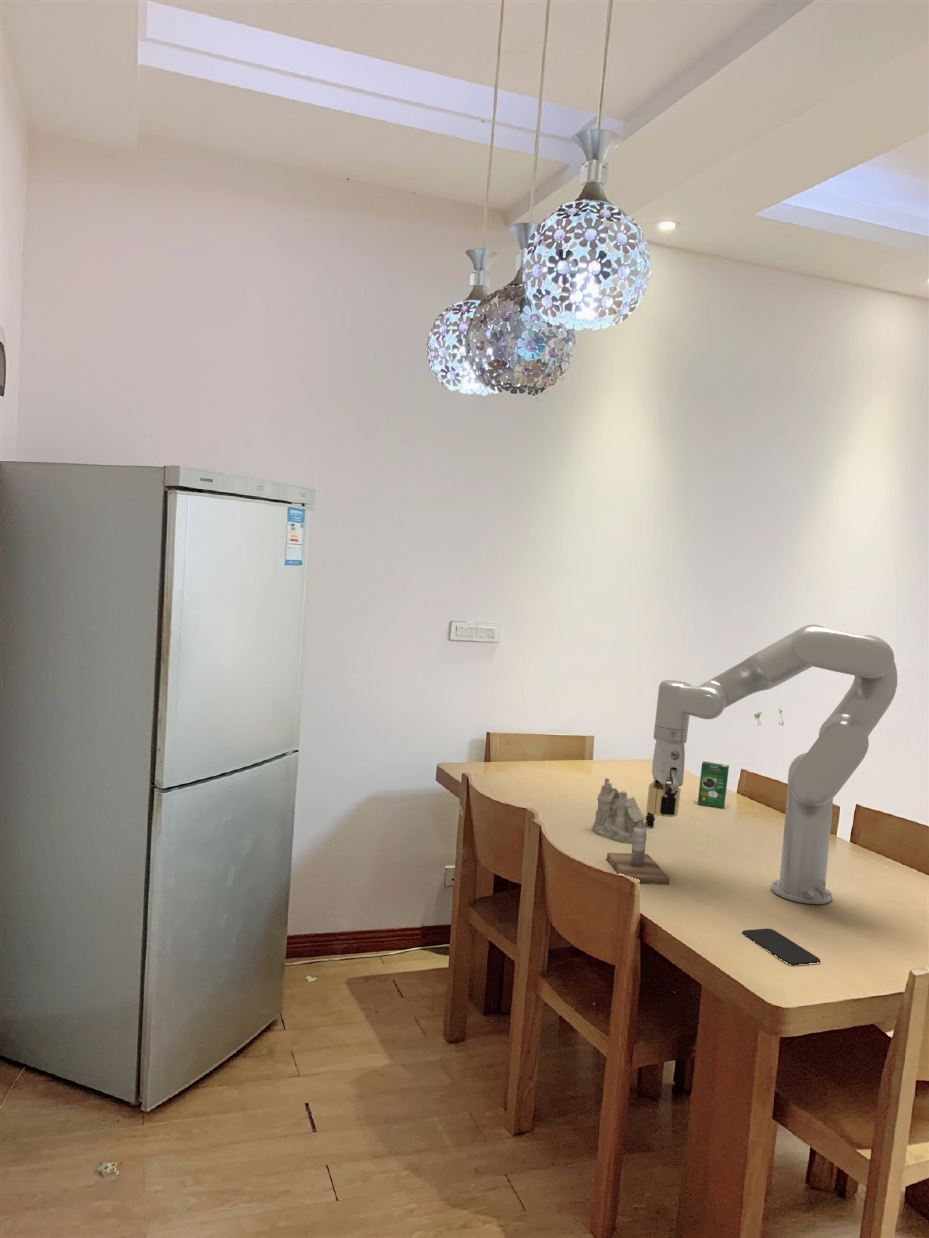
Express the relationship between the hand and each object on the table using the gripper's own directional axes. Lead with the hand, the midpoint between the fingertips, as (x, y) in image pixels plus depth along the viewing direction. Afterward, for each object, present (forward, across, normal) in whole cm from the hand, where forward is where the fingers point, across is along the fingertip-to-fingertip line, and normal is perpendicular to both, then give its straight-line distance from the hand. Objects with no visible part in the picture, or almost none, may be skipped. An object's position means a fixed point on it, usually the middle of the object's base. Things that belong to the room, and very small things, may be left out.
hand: (662, 808), depth 209 cm
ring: (+1, 0, 0) cm, 1 cm away
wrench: (+15, +46, -14) cm, 51 cm away
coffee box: (+15, +60, -34) cm, 70 cm away
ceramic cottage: (+15, +28, +1) cm, 32 cm away
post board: (+15, -2, +5) cm, 16 cm away
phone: (+14, -41, -12) cm, 45 cm away
